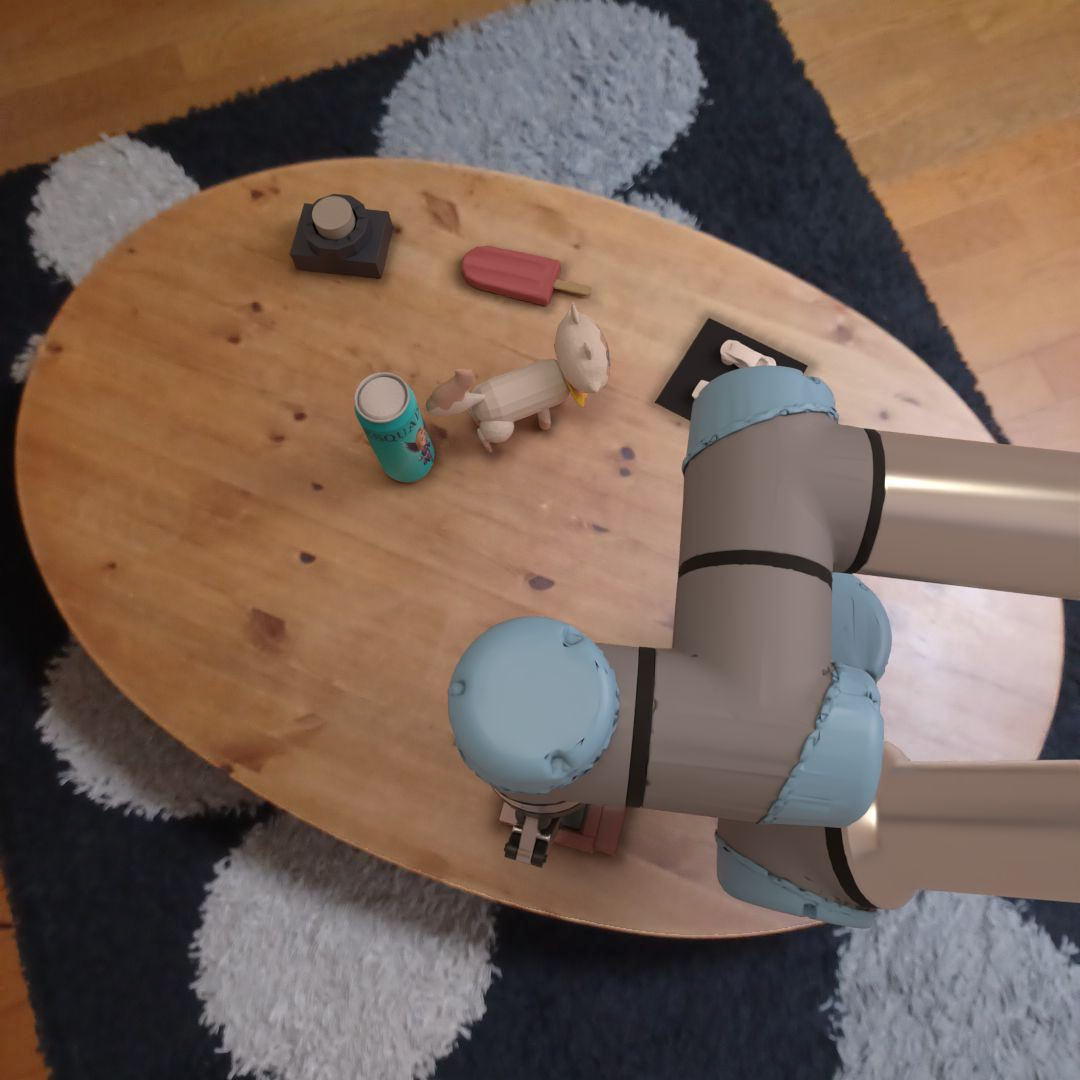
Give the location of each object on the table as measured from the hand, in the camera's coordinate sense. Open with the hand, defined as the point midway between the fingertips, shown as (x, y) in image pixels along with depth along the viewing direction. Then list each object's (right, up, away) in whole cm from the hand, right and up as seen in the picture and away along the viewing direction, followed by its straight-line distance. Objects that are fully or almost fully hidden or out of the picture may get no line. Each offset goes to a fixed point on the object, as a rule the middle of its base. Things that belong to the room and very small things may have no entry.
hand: (557, 788), depth 79 cm
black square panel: (+1, -4, +11) cm, 12 cm away
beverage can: (-15, +28, +28) cm, 42 cm away
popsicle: (-3, +49, +34) cm, 60 cm away
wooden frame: (+1, -5, +15) cm, 16 cm away
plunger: (-24, +55, +33) cm, 68 cm away
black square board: (+19, +36, +29) cm, 50 cm away
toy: (-3, +32, +28) cm, 43 cm away
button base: (-24, +53, +37) cm, 69 cm away
